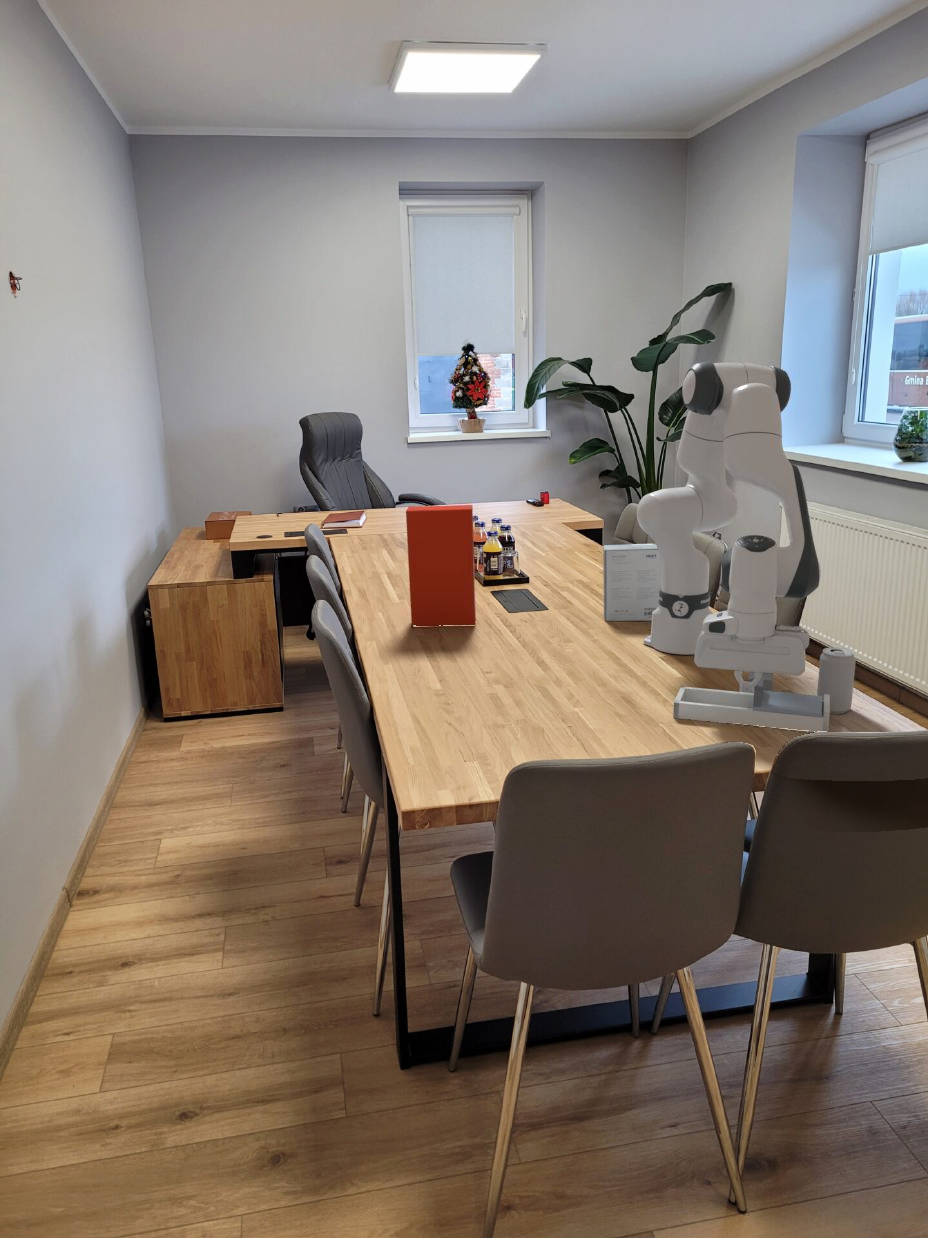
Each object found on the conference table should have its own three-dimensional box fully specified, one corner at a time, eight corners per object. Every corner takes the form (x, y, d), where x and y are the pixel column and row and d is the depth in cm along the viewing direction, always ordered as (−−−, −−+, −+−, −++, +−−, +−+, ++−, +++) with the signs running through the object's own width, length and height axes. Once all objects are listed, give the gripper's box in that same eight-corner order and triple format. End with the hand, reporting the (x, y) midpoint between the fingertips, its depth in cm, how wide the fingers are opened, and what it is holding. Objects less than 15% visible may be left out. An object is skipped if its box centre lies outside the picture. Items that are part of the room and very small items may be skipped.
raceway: (680, 701, 181) (681, 680, 179) (827, 716, 170) (829, 694, 169) (673, 717, 172) (673, 696, 171) (827, 734, 162) (829, 712, 161)
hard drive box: (658, 613, 245) (660, 543, 240) (662, 621, 238) (664, 548, 233) (602, 614, 247) (603, 544, 242) (603, 621, 240) (604, 549, 234)
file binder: (475, 626, 239) (471, 508, 230) (411, 628, 239) (405, 510, 231) (475, 618, 246) (472, 504, 238) (414, 620, 247) (408, 506, 239)
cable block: (771, 696, 182) (772, 673, 181) (770, 703, 178) (771, 680, 177) (748, 693, 184) (749, 671, 182) (746, 701, 180) (748, 678, 178)
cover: (756, 693, 174) (757, 678, 174) (821, 699, 170) (823, 684, 169) (752, 710, 166) (753, 694, 165) (821, 717, 162) (822, 701, 161)
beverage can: (842, 702, 177) (847, 645, 174) (856, 714, 171) (862, 655, 168) (810, 703, 177) (815, 646, 174) (824, 715, 171) (829, 656, 168)
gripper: (810, 622, 165) (805, 691, 169) (698, 614, 173) (696, 681, 177) (809, 631, 160) (804, 703, 164) (694, 623, 167) (691, 692, 171)
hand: (747, 691), depth 170 cm, fingers closed
